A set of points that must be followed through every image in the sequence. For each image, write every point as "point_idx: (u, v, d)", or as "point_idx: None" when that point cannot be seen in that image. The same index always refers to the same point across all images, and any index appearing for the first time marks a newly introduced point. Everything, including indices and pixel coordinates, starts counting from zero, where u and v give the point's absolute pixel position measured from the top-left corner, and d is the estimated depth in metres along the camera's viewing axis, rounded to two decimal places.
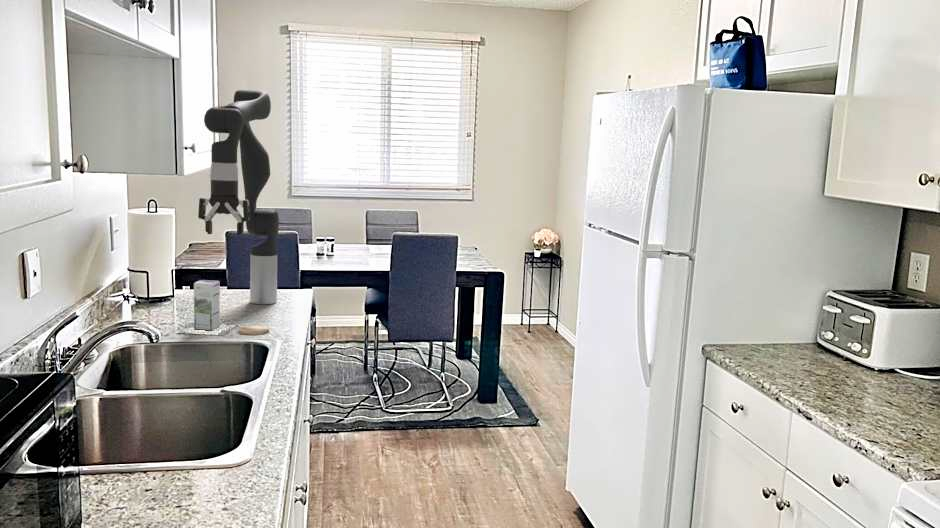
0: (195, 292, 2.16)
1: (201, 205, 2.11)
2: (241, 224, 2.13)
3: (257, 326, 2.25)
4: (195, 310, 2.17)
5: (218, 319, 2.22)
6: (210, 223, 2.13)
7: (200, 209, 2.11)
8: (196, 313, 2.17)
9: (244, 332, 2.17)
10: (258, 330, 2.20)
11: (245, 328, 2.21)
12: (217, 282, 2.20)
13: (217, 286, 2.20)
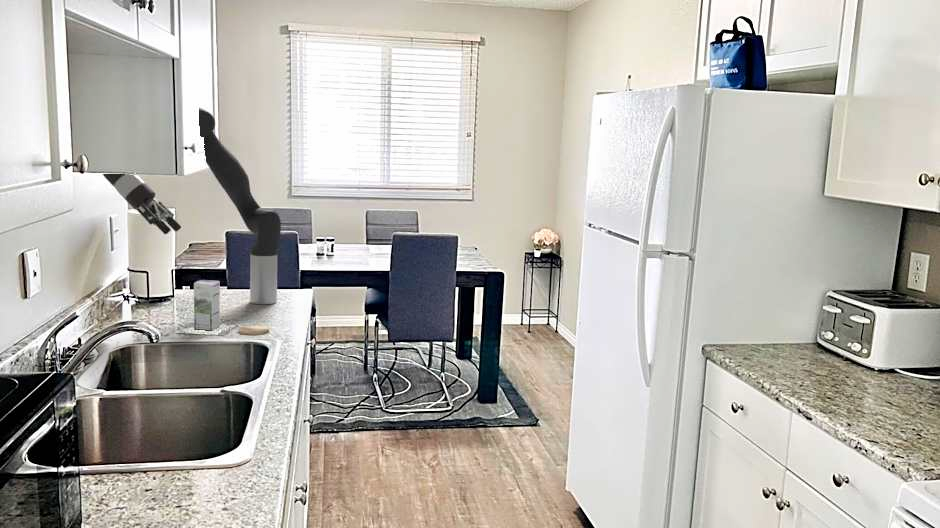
0: (195, 292, 2.16)
1: None
2: (157, 225, 2.14)
3: (257, 326, 2.25)
4: (195, 310, 2.17)
5: (218, 319, 2.22)
6: (170, 222, 2.23)
7: None
8: (196, 313, 2.17)
9: (244, 332, 2.17)
10: (258, 330, 2.20)
11: (245, 328, 2.21)
12: (217, 282, 2.20)
13: (217, 286, 2.20)
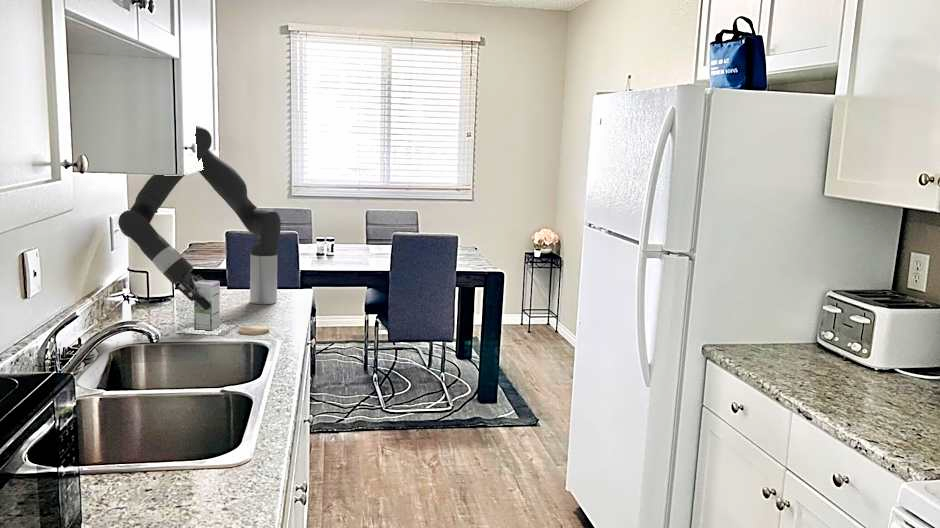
0: None
1: None
2: (198, 302, 2.15)
3: (257, 326, 2.25)
4: (195, 310, 2.17)
5: (218, 319, 2.22)
6: None
7: None
8: (196, 313, 2.17)
9: (244, 332, 2.17)
10: (258, 330, 2.20)
11: (245, 328, 2.21)
12: (217, 282, 2.20)
13: (217, 286, 2.20)
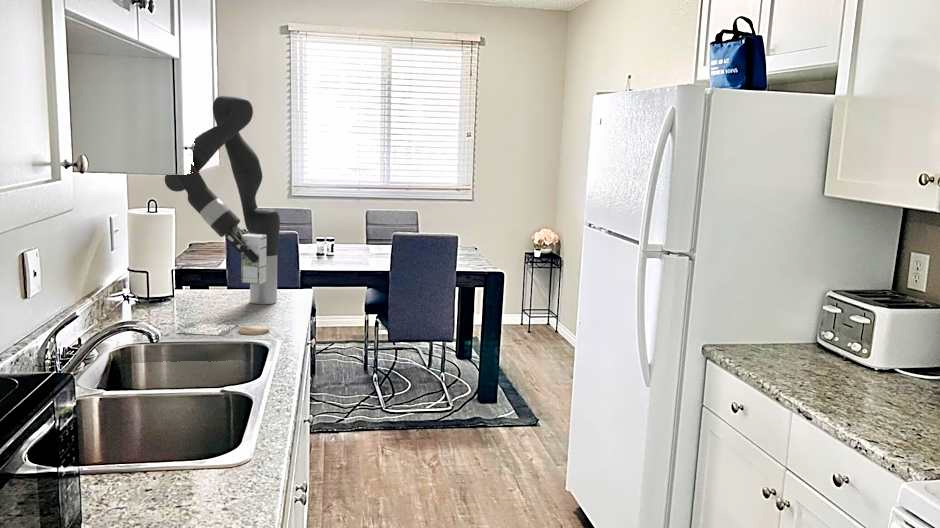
0: None
1: None
2: (246, 254, 2.13)
3: (257, 326, 2.25)
4: (242, 263, 2.16)
5: (265, 273, 2.20)
6: None
7: None
8: (243, 266, 2.16)
9: (244, 332, 2.17)
10: (258, 330, 2.20)
11: (245, 328, 2.21)
12: (264, 235, 2.18)
13: (264, 239, 2.18)
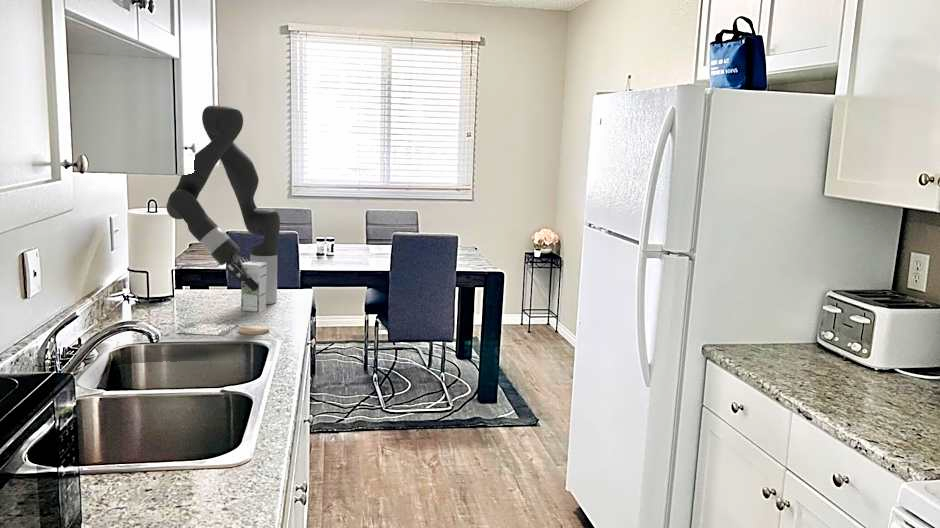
0: None
1: None
2: (246, 282, 2.15)
3: (257, 326, 2.25)
4: (242, 291, 2.17)
5: (264, 301, 2.21)
6: None
7: None
8: (243, 294, 2.17)
9: (244, 332, 2.17)
10: (258, 330, 2.20)
11: (245, 328, 2.21)
12: (264, 263, 2.19)
13: (264, 267, 2.19)
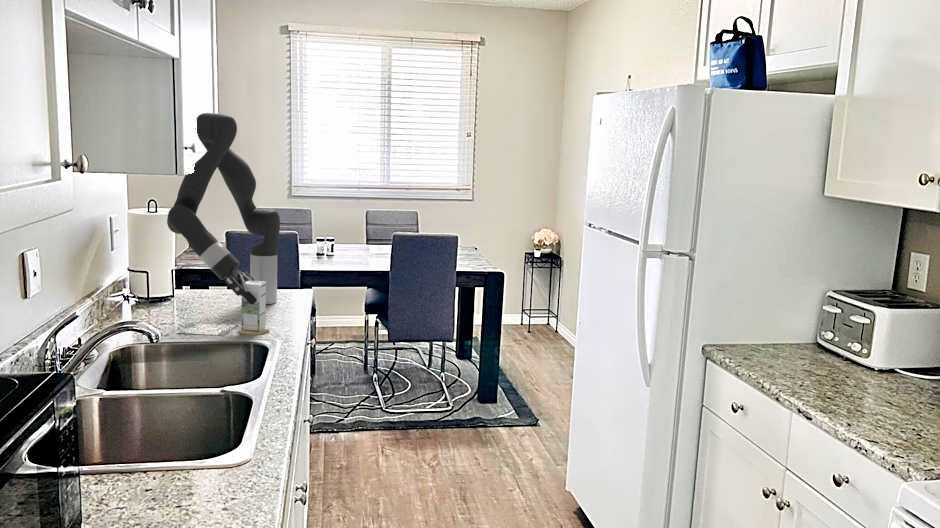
0: None
1: None
2: (244, 296, 2.14)
3: None
4: (242, 311, 2.18)
5: (264, 319, 2.22)
6: None
7: None
8: (243, 314, 2.18)
9: (244, 332, 2.17)
10: None
11: None
12: (264, 282, 2.20)
13: (264, 286, 2.20)
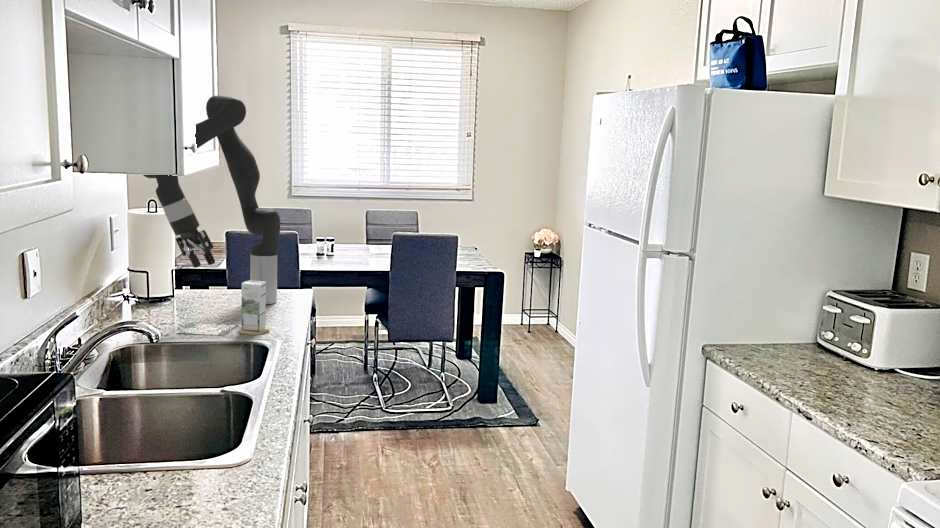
0: (243, 293, 2.17)
1: (179, 244, 2.24)
2: (207, 254, 2.18)
3: None
4: (242, 311, 2.18)
5: (264, 319, 2.22)
6: (192, 257, 2.24)
7: (180, 248, 2.24)
8: (243, 313, 2.18)
9: (244, 332, 2.17)
10: None
11: None
12: (264, 282, 2.20)
13: (264, 286, 2.20)
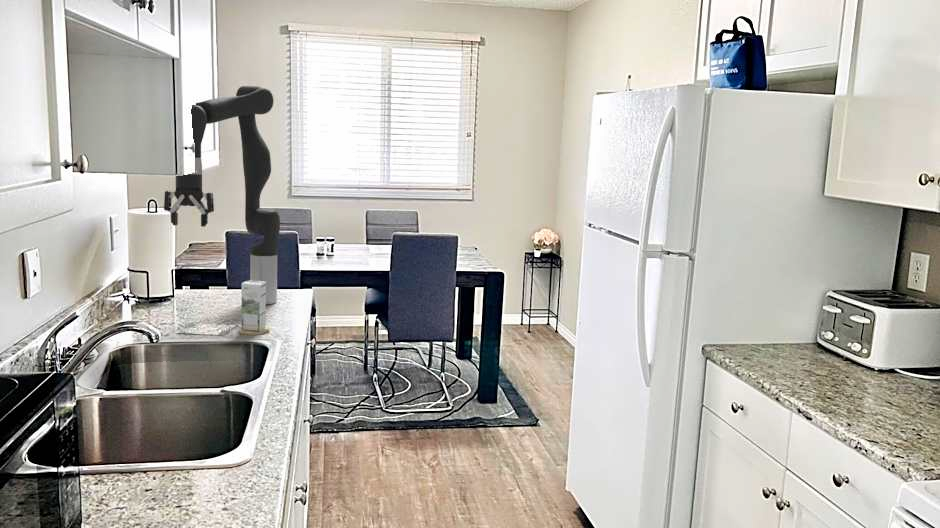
0: (243, 293, 2.17)
1: (166, 197, 2.21)
2: (205, 216, 2.23)
3: None
4: (242, 311, 2.18)
5: (264, 319, 2.22)
6: (175, 215, 2.23)
7: (166, 201, 2.22)
8: (243, 313, 2.18)
9: (244, 332, 2.17)
10: None
11: None
12: (264, 282, 2.20)
13: (264, 286, 2.20)
